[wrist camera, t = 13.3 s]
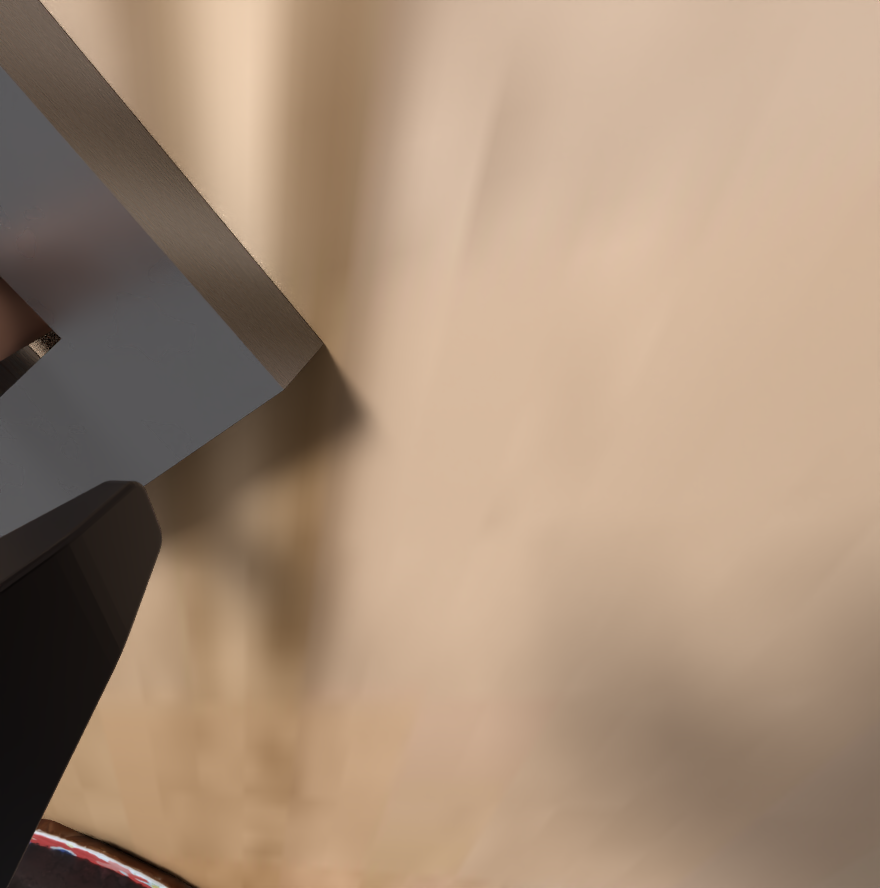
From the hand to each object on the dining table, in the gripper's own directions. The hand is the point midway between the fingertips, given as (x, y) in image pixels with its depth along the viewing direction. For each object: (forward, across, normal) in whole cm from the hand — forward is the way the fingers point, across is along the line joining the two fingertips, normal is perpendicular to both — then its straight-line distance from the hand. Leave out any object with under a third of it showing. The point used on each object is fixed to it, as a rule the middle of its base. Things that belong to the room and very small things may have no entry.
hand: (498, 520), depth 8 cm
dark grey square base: (+13, +16, +2) cm, 21 cm away
